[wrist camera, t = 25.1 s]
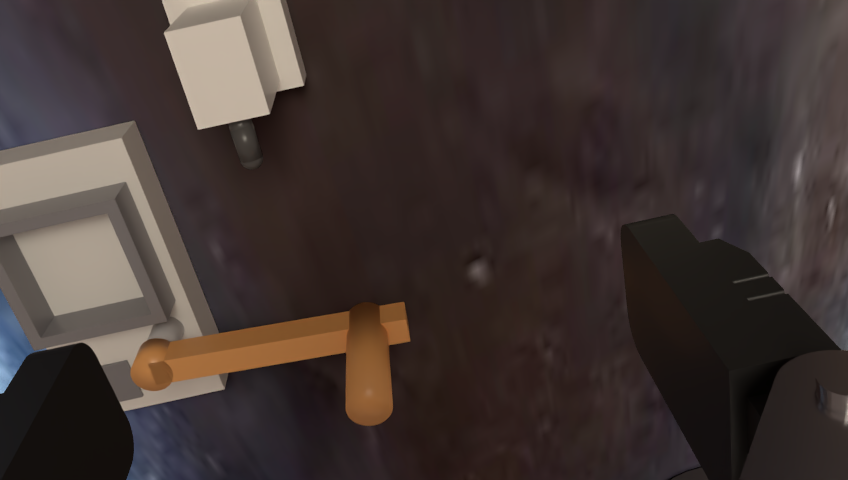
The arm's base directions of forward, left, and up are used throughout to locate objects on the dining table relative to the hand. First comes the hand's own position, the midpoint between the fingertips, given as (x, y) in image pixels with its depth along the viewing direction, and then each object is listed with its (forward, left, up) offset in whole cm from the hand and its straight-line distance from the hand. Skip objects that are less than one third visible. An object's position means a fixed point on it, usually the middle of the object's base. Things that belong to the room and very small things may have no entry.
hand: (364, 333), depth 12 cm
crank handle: (-14, +8, -23) cm, 28 cm away
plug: (-1, +6, -28) cm, 29 cm away
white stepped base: (-11, +16, -28) cm, 34 cm away
